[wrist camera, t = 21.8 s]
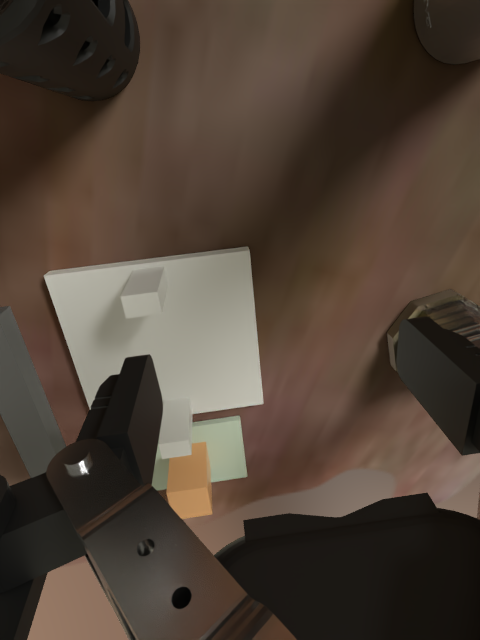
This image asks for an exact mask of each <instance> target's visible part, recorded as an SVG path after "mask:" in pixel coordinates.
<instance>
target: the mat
mask: <svg viewBox="0 0 480 640" xmlns="http://www.w3.org/2000/svg"><path fill="white" fill-rule="evenodd" d="M160 429H161V428H160ZM159 436H160V434H159ZM200 442H206V445H207V450H208V456H209V461H210V467H211V482H217V481H223V480H230V479H237V478H243V477H247V469H246V462H245V454H244V446H243V438H242V430H241V422H240V416H233V417H226V418H219V419H212V420H205V421H198V422H192V444H193V443H200ZM158 444H159V441H158ZM169 459H170V458H167V459H162V456H161V452H160V449H159V445H158V447H157V454H156V460H155V466H154V473H153V479H152V486H153V487H154V488H155V489H156V490H157V491H158V490H164V489H167V481H168V470H169Z"/></svg>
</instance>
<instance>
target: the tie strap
mask: <svg viewBox="0 0 480 640" xmlns="http://www.w3.org/2000/svg"><path fill="white" fill-rule="evenodd" d="M0 415H1V417H2V419H3V421H4V423H5V425H6V427H7V429H8V431H9V433H10V435H11V438H12V440H13V442H14V444H15V446H16V448H17V450H18V452H19V454H20V456H21V458H22V460H23V463H24V465H25V467H26V469H27V471H28V473H29V475H30V477H31V478H33V477H35V476H38V475H40V474H43V473H45V472H46V471H47V467H48V465H49V463H50V461H51V460H52V458H53V457H54V456H55V455H56V454H57V453H58V452H59V451H61V450H62V449H63V448H65V447H66V445H65V442H64V440H63V437H62V435H61V432H60V430H59V427H58V425H57V422H56V420H55V417H54V415H53V412H52V410H51V407H50V405H49V402H48V400H47V397H46V395H45V392H44V390H43V387H42V385H41V382H40V380H39V377H38V375H37V373H36V370H35V368H34V365H33V363H32V360H31V358H30V355H29V353H28V350H27V348H26V345H25V343H24V340H23V338H22V335H21V333H20V330H19V328H18V325H17V323H16V320H15V318H14V315H13V313H12V310H11V308H10V306H6V307H0Z"/></svg>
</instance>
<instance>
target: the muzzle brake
mask: <svg viewBox="0 0 480 640" xmlns="http://www.w3.org/2000/svg"><path fill="white" fill-rule="evenodd" d="M139 52H140V36H139V31H138V25H137V21H136V18H135V15H134V13H133V10H132V8H131V6H130V4H129V2H128V0H98V8H97V6H96V5H95V4H94V2H93V1H92V0H0V73H1V74H4V75H7V76H10V77H13V78H16V79H19V80H22V81H25V82H28V83H31V84H34V85H37V86H40V87H43V88H46V89H49V90H52V91H55V92H58V93H61V94H64V95H67V96H70V97H73V98H76V99H79V100H85V101H98V100H104V99H107V98H110V97H112V96H114V95H115V94H117V93H119V92H120V91H121V90H122V89H123V88H124V87H125V86H126V85H127V84H128V83H129V81H130V80H131V78H132V76H133V74H134V72H135V69H136V66H137V64H138V59H139Z"/></svg>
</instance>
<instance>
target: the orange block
mask: <svg viewBox="0 0 480 640" xmlns="http://www.w3.org/2000/svg"><path fill="white" fill-rule="evenodd" d="M166 493H167V497H168V501H169V505H170V506H171V508H172V509H173V510H174V511H175V512H176V513H177V514H178V516H179V517H180V518H181V519H185V518H191V517H198V516H204V515H211V514H212V493H211V467H210V461H209V456H208V450H207V445H206V442H200V443H193V444H192V455H187V456H180V457H174V458H170V459H169V470H168V481H167V492H166Z"/></svg>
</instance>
